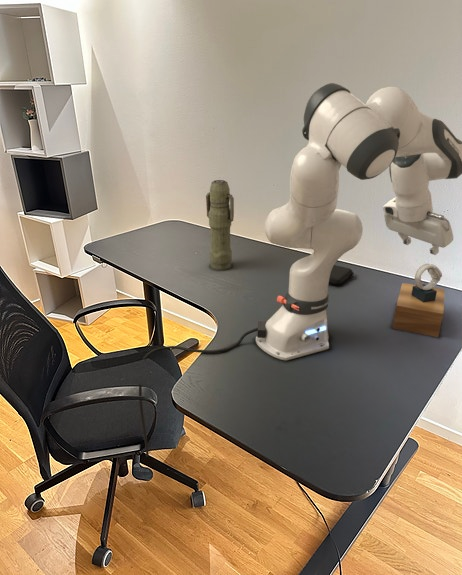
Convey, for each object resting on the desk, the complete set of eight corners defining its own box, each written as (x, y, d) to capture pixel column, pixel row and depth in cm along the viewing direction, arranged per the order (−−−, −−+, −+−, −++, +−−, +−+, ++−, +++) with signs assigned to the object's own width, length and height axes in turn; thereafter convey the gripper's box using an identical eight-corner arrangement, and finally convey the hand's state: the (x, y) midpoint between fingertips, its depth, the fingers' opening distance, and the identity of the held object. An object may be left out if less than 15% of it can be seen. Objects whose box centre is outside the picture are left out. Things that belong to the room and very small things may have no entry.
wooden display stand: (438, 337, 131) (443, 313, 127) (392, 328, 136) (396, 305, 132) (439, 311, 146) (444, 289, 142) (398, 303, 151) (402, 282, 147)
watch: (440, 299, 136) (447, 266, 131) (418, 303, 133) (425, 270, 129) (427, 291, 141) (433, 260, 136) (406, 295, 138) (412, 263, 134)
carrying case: (341, 289, 161) (356, 275, 172) (342, 281, 160) (357, 268, 171) (315, 282, 167) (331, 269, 178) (316, 274, 166) (332, 262, 177)
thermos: (212, 260, 188) (210, 177, 173) (238, 264, 183) (238, 180, 168) (203, 267, 181) (200, 182, 166) (229, 272, 176) (228, 184, 161)
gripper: (456, 210, 111) (460, 253, 119) (393, 194, 127) (400, 232, 135) (439, 224, 110) (444, 266, 117) (377, 205, 126) (385, 244, 134)
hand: (420, 248), depth 126 cm, fingers open, 8 cm apart
